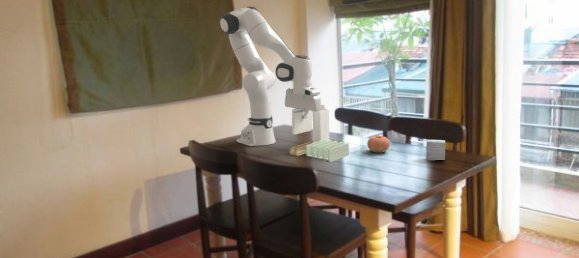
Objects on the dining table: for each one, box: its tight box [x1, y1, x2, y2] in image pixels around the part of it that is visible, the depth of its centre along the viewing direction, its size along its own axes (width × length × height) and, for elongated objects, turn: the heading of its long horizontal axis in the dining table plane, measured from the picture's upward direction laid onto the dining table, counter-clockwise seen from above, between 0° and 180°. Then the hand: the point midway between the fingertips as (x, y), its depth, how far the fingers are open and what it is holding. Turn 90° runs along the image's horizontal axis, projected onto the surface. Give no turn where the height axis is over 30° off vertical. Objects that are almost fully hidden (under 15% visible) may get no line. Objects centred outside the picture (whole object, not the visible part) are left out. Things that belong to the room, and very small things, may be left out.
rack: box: [305, 139, 350, 163], centre depth 224 cm, size 14×15×6 cm
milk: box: [312, 104, 330, 143], centre depth 241 cm, size 6×6×22 cm
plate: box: [291, 108, 313, 135], centre depth 228 cm, size 2×13×12 cm, turn 138°
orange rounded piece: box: [366, 135, 391, 154], centre depth 229 cm, size 11×11×8 cm
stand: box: [289, 141, 313, 157], centre depth 231 cm, size 6×16×4 cm, turn 138°
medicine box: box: [425, 139, 446, 161], centre depth 212 cm, size 8×4×9 cm, turn 71°
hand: (302, 118), depth 228 cm, fingers closed on plate, 2 cm apart
